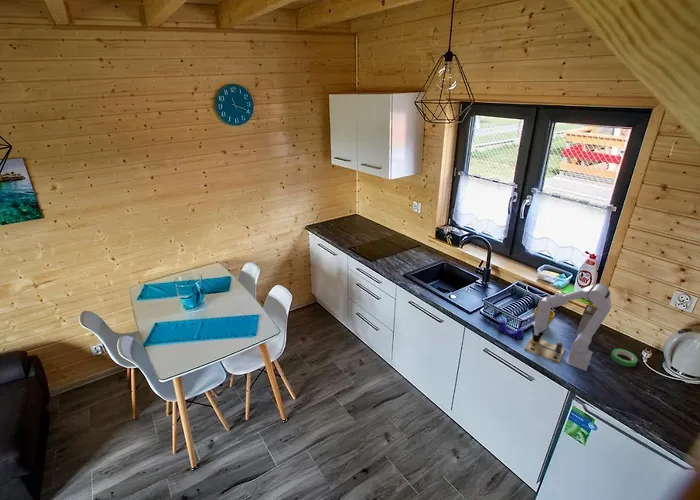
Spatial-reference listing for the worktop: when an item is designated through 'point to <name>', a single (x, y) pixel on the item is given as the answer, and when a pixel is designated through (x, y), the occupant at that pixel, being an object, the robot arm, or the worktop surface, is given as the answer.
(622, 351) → the tape roll
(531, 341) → the block
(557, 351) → the tan base plate
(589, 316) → the coffee box
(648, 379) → the worktop surface
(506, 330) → the cable clip
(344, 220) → the worktop surface
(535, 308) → the plant pot
